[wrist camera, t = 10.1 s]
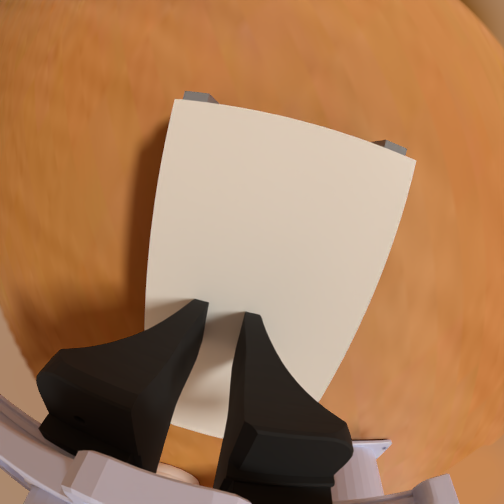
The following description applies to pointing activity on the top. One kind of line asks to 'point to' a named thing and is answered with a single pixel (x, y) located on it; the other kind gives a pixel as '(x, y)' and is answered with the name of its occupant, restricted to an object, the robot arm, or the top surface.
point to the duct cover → (268, 242)
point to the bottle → (175, 473)
